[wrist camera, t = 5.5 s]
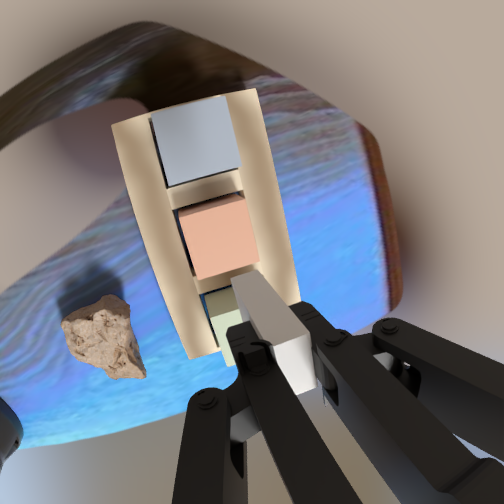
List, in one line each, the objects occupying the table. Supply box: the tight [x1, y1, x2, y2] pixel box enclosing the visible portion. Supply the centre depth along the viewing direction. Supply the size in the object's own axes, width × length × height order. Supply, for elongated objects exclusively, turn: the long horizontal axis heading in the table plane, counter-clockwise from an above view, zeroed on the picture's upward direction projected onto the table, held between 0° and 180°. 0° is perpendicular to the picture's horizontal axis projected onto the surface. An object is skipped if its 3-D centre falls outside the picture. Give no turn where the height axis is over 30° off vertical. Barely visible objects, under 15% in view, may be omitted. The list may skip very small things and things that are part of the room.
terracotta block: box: [178, 193, 260, 280], centre depth 29 cm, size 6×6×5 cm
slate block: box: [151, 96, 242, 186], centre depth 25 cm, size 6×6×5 cm
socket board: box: [111, 88, 301, 360], centre depth 31 cm, size 14×26×3 cm, turn 14°
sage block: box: [204, 286, 243, 367], centre depth 31 cm, size 6×6×5 cm
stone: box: [61, 294, 146, 380], centre depth 30 cm, size 9×12×5 cm
